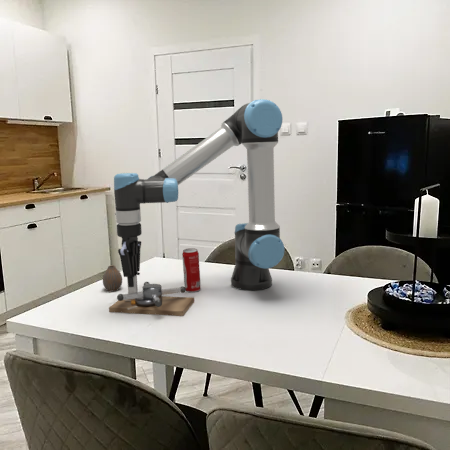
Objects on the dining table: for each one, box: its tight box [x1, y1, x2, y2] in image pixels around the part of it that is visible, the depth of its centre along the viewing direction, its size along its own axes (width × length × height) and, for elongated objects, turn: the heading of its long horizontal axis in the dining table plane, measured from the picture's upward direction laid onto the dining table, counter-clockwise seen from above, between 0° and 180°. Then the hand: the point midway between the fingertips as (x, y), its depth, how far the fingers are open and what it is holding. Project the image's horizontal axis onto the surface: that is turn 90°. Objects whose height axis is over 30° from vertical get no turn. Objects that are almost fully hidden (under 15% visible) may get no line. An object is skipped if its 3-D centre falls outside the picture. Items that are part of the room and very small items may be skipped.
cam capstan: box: [116, 281, 187, 307], centre depth 145 cm, size 22×22×5 cm
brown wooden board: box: [108, 295, 195, 317], centre depth 145 cm, size 24×14×2 cm, turn 79°
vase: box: [102, 264, 123, 292], centre depth 164 cm, size 7×7×9 cm
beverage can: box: [182, 247, 202, 293], centre depth 161 cm, size 6×6×15 cm
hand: (133, 295), depth 145 cm, fingers closed
